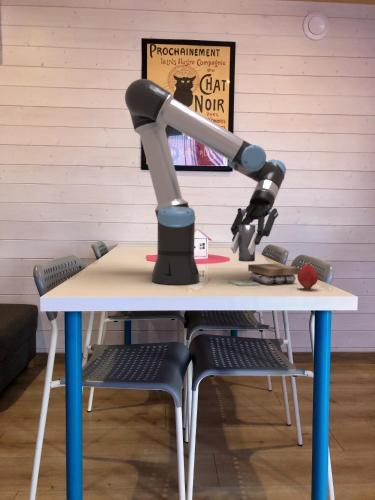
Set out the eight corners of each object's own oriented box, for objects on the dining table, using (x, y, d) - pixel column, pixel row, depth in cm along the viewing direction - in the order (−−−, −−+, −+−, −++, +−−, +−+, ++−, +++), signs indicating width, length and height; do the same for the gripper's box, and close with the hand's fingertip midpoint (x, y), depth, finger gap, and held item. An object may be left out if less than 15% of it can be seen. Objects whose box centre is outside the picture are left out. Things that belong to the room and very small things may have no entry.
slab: (268, 275, 138) (268, 269, 138) (248, 270, 149) (248, 264, 149) (298, 274, 142) (298, 267, 142) (276, 269, 153) (276, 263, 153)
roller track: (265, 285, 140) (265, 275, 140) (250, 280, 148) (250, 271, 148) (295, 283, 144) (295, 273, 144) (278, 279, 152) (279, 270, 152)
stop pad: (239, 286, 137) (239, 284, 137) (228, 282, 144) (228, 280, 144) (259, 284, 140) (259, 283, 140) (247, 281, 147) (247, 279, 146)
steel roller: (243, 261, 138) (244, 225, 137) (235, 260, 143) (236, 224, 142) (257, 261, 140) (258, 225, 139) (249, 259, 145) (249, 224, 144)
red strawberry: (292, 288, 134) (293, 261, 133) (307, 287, 137) (308, 260, 136) (307, 292, 129) (308, 264, 128) (321, 290, 132) (322, 263, 131)
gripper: (292, 205, 148) (272, 260, 136) (242, 205, 157) (219, 257, 145) (287, 188, 143) (266, 244, 131) (235, 189, 153) (211, 241, 140)
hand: (241, 250), depth 138 cm, fingers closed on steel roller, 5 cm apart
